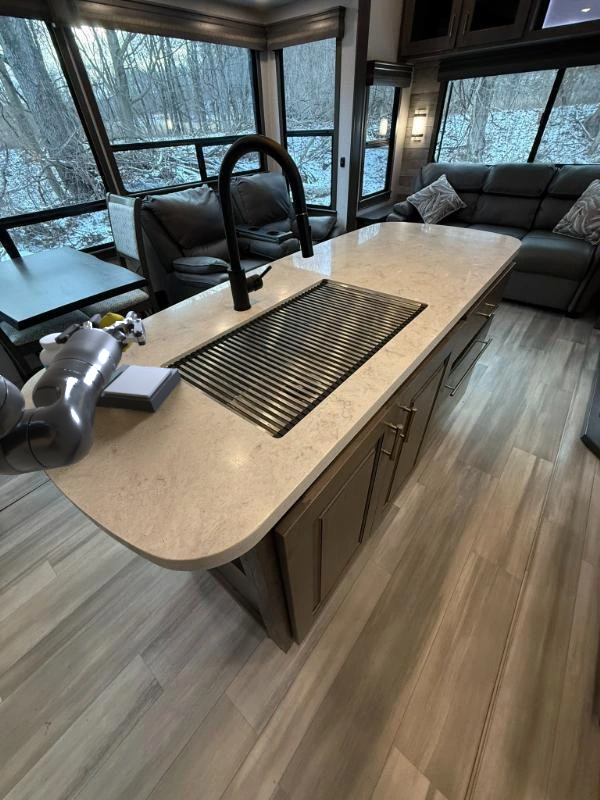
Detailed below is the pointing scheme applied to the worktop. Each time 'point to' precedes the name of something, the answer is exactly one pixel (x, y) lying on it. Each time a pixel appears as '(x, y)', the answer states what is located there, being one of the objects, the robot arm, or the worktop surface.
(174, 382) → the scale
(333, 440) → the worktop surface
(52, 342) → the pill bottle
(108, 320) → the lemon
